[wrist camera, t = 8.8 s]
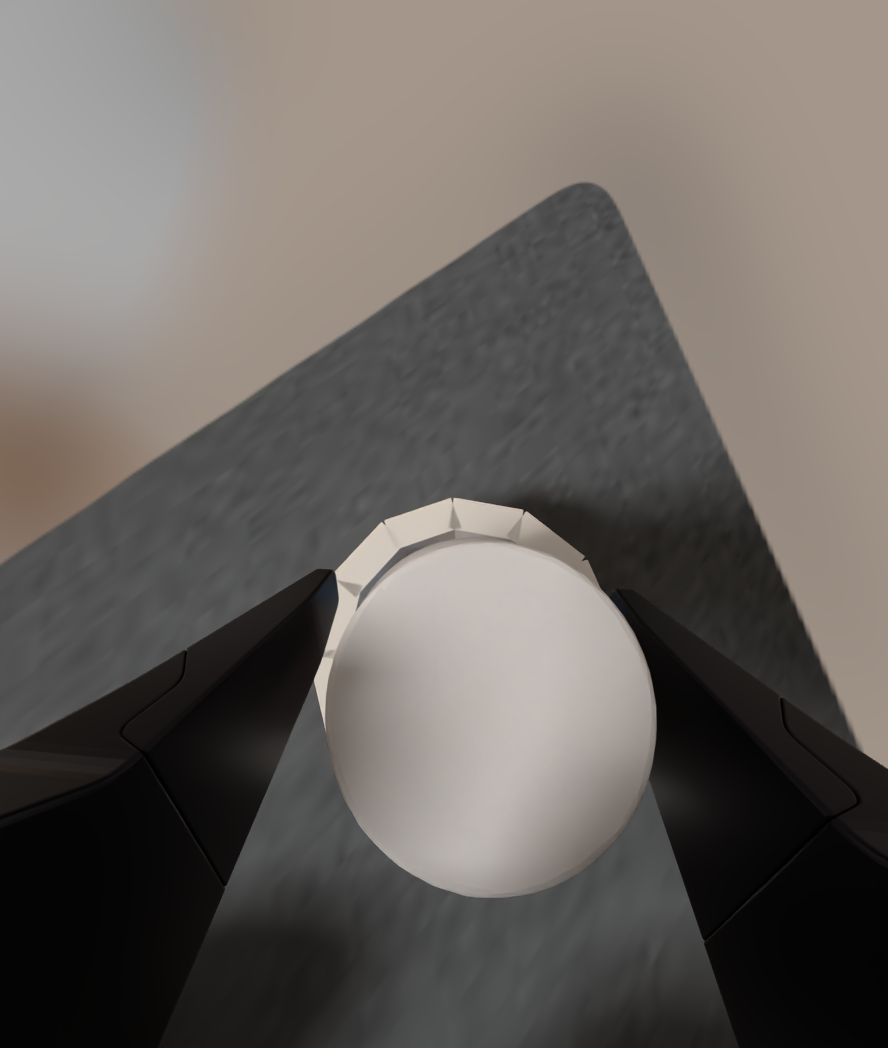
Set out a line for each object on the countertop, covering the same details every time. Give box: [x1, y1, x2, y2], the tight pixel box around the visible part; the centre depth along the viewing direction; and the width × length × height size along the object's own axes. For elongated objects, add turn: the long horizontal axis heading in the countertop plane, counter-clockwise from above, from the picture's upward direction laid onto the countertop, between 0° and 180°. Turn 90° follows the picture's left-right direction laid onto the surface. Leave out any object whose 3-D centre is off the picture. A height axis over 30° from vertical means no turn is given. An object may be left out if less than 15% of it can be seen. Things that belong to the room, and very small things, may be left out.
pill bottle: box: [325, 537, 657, 898], centre depth 11 cm, size 6×6×11 cm
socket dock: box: [314, 498, 601, 729], centre depth 15 cm, size 12×12×4 cm
